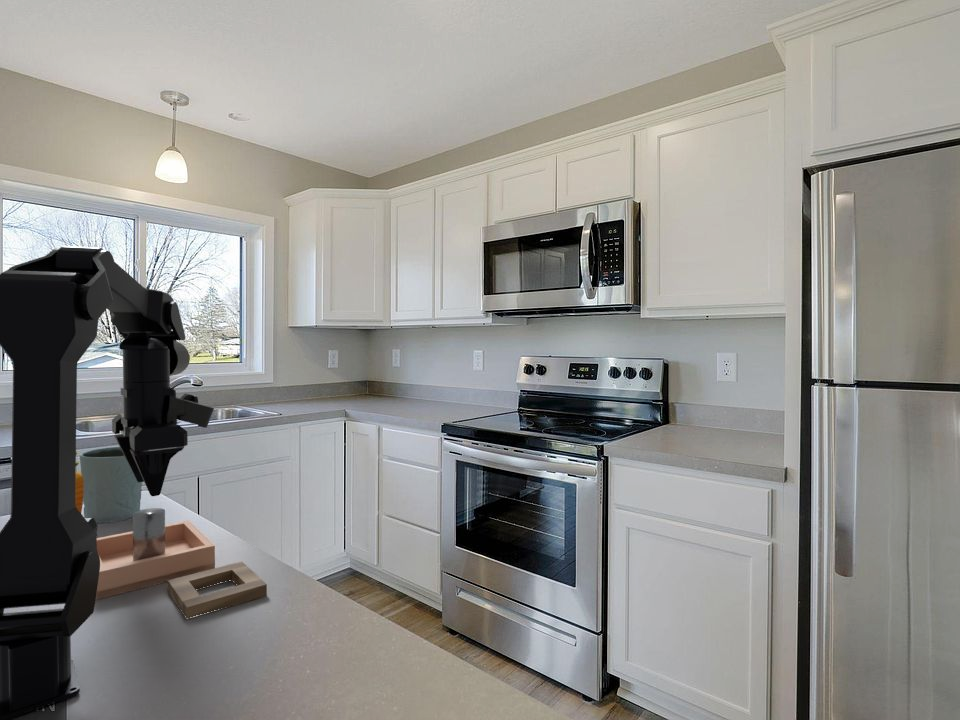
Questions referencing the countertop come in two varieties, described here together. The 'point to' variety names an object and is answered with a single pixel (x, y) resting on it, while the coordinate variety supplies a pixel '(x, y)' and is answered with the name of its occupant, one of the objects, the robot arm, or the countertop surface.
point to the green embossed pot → (109, 486)
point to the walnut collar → (196, 604)
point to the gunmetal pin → (148, 533)
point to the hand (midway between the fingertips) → (148, 488)
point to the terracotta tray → (152, 560)
